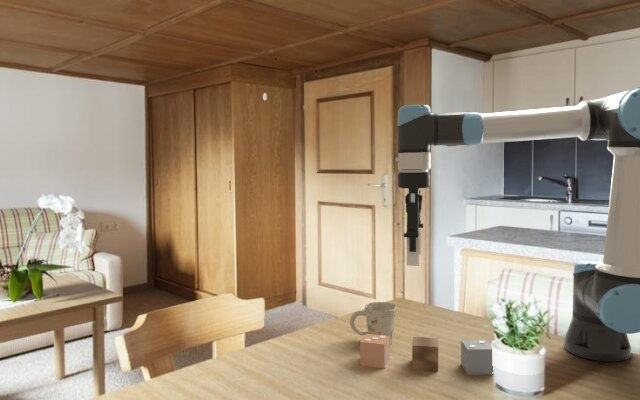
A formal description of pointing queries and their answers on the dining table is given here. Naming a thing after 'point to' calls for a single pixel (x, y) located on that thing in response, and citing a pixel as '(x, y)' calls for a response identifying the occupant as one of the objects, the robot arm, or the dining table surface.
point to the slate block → (476, 356)
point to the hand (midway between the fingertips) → (414, 259)
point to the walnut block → (425, 354)
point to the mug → (377, 319)
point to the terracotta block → (375, 351)
